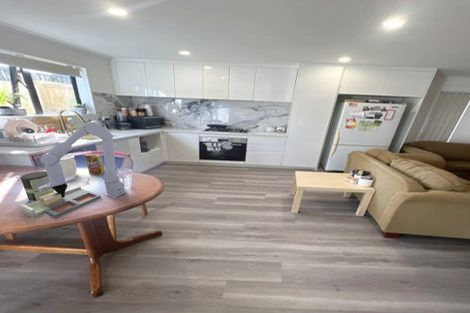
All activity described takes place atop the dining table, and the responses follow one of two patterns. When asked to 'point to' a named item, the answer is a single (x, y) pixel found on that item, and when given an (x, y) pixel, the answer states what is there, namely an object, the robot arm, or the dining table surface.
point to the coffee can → (35, 185)
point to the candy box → (95, 163)
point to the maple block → (51, 199)
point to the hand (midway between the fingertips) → (62, 197)
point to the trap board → (61, 204)
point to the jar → (68, 166)
